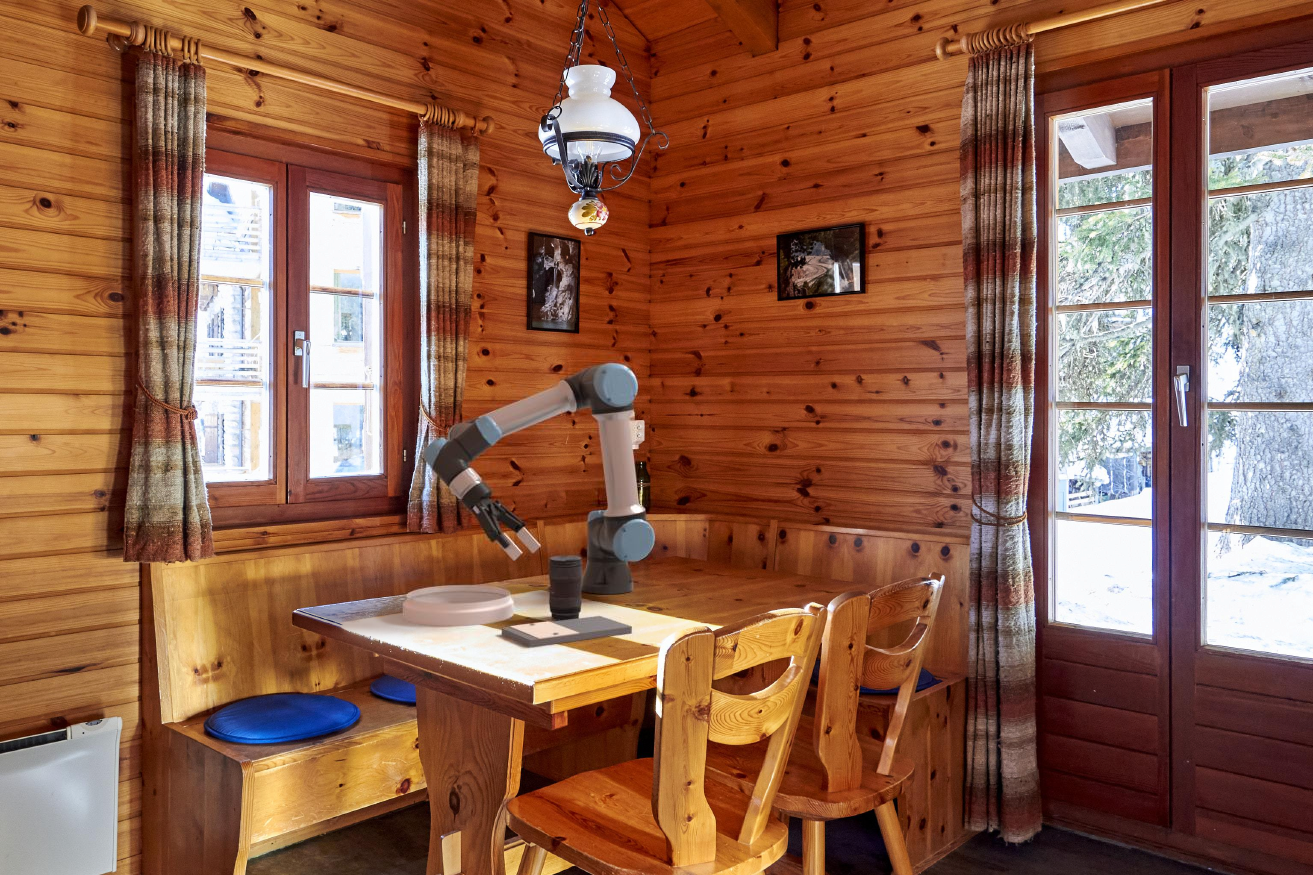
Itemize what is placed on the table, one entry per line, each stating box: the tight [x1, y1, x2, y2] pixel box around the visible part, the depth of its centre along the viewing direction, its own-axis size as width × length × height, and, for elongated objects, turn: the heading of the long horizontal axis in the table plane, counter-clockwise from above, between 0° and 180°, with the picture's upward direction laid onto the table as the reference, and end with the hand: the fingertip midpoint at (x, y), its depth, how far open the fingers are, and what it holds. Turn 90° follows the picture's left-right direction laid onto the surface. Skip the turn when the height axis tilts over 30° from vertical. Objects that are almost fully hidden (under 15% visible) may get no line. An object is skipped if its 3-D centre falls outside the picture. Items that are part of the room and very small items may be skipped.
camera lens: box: [548, 555, 583, 621], centre depth 229 cm, size 8×8×15 cm
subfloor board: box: [501, 615, 633, 648], centre depth 212 cm, size 26×14×2 cm, turn 125°
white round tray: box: [402, 584, 515, 627], centre depth 232 cm, size 27×27×6 cm
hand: (527, 553), depth 230 cm, fingers open, 13 cm apart
